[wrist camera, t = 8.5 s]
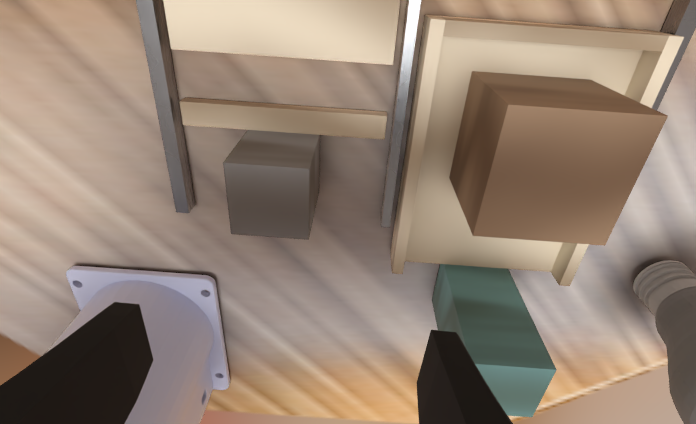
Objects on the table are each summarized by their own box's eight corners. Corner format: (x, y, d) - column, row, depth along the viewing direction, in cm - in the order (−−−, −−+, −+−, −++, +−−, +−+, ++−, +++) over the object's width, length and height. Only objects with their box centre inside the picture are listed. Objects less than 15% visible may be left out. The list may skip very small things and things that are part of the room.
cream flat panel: (377, 195, 19) (379, 244, 15) (198, 182, 19) (160, 228, 15) (421, -204, 12) (444, -277, 8) (136, -223, 12) (42, -304, 8)
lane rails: (587, 232, 19) (595, 242, 19) (183, 203, 19) (176, 212, 19) (776, -191, 12) (802, -202, 11) (104, -238, 12) (88, -251, 11)
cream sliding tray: (537, 307, 22) (596, 421, 16) (384, 296, 22) (390, 406, 16) (654, 31, 15) (831, 65, 9) (424, 14, 15) (460, 40, 9)
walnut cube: (551, 185, 17) (604, 245, 13) (449, 177, 17) (473, 235, 14) (590, 79, 15) (668, 116, 11) (471, 71, 15) (508, 104, 11)
